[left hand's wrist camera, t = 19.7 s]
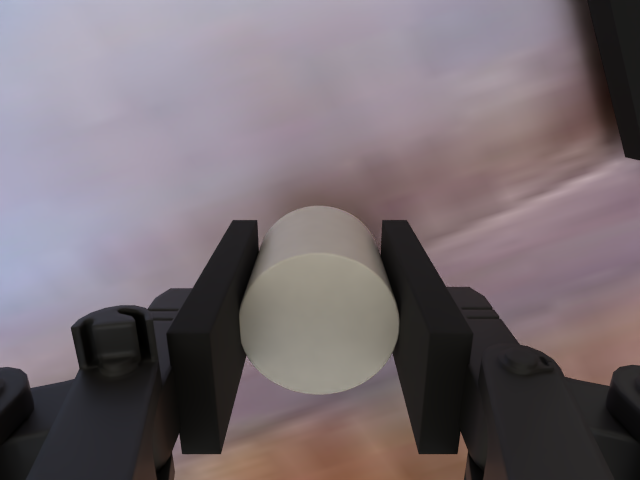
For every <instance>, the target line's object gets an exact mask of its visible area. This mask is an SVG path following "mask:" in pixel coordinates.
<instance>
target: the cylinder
mask: <svg viewBox="0 0 640 480" xmlns="http://www.w3.org/2000/svg"><path fill="white" fill-rule="evenodd" d="M239 321H240V336H241V344H242V346H243V349H244V351H245V353H246V355H247V357H248V358H249V360H250V361H251V363H252V364H253V365H254V367H255V368H256V369H257V370H258V371H259V372H260V373H261V374H263V375H264V376H265V377H266V378H268V379H269V380H271V381H272V382H274V383H276V384H277V385H280V386H282V387H284V388H286V389H289V390H292V391H295V392H300V393H305V394H314V395H317V394H333V393H338V392H342V391H346V390H349V389H351V388H354V387H356V386H358V385H360V384H362V383H364V382H365V381H367V380H369V379H370V378H371V377H373V376H374V375H375V374H376V373H377V372H378V371H379V370H380V369H381V368H382V367H383V366H384V365H385V363H386V362H387V361H388V359H389V358H390V356H391V354H392V352H393V350H394V348H395V346H396V343H397V340H398V335H399V325H400V319H399V311H398V307H397V303H396V300H395V297H394V294H393V291H392V288H391V285H390V282H389V280H388V277H387V274H386V271H385V268H384V265H383V262H382V259H381V256H380V253H379V250H378V247H377V244H376V242H375V239H374V237H373V236H372V234H371V232H370V231H369V229H368V228H367V227H366V226H365V225H364V224H363V223H362V222H361V221H360V220H359V219H358V218H356V217H355V216H353V215H352V214H350V213H348V212H346V211H344V210H341V209H338V208H334V207H330V206H308V207H304V208H300V209H297V210H294V211H292V212H290V213H288V214H286V215H285V216H283V217H282V218H280V219H279V220H278V221H277V222H276V223H275V224H274V225H273V226H272V227H271V228H270V230H269V231H268V232H267V234H266V236H265V237H264V239H263V242H262V244H261V247H260V250H259V253H258V256H257V259H256V262H255V265H254V267H253V270H252V273H251V276H250V279H249V282H248V285H247V288H246V291H245V294H244V296H243V299H242V302H241V305H240V310H239Z"/></svg>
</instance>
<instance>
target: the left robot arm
mask: <svg viewBox="0 0 640 480" xmlns="http://www.w3.org/2000/svg"><path fill="white" fill-rule="evenodd" d="M258 253H259V246H258V226H257V220H233V221H232V223H231V224H230V226H229V228H228V229H227V231H226V233H225V234H224V236H223V238H222V240H221V241H220V243H219V245H218V246H217V248H216V250H215V251H214V253H213V255H212V257H211V258H210V260H209V262H208V263H207V265H206V267H205V268H204V270H203V272H202V273H201V275H200V277H199V279H198V280H197V282H196V284H195V285H194V287H193V288H171V289H169V290H167V291H166V292H164V293H163V294H161V295H159V296H158V297H156V298H155V299H154V301H153V302H152V303H151V305H150V306H149V308H148V309H146V308H143V307H139V306H135V305H120V306H114V307H108V308H104V309H101V310H98V311H95V312H92V313H90V314H88V315H86V316H84V317H82V318H81V319H79V320H78V321H77V322H76V323H75V324H74V325H73V326H72V327H71V331H72V335H73V340H74V345H75V349H76V354H77V359H78V363H79V368H80V369H79V371H78V373H77V375H76V377H75V379H72V380H69V381H65V382H60V383H55V384H50V385H45V386H39V387H34V388H30V385H29V381H28V377H27V374H25V373H24V372H23V371H22V370H21V369H16V368H10V367H3V368H0V480H174V474H175V470H174V463H173V456H172V450H173V448H174V445H175V442H176V440H177V437H178V435H179V434H180V441H181V449H182V454H221V451H222V447H223V444H224V440H225V436H226V432H227V428H228V424H229V421H230V417H231V413H232V409H233V405H234V401H235V397H236V394H237V390H238V386H239V382H240V378H241V374H242V370H243V367H244V363H245V359H246V353H245V351H244V349H243V346H242V344H241V336H240V321H239V310H240V305H241V302H242V299H243V296H244V294H245V291H246V288H247V285H248V282H249V279H250V276H251V273H252V270H253V267H254V265H255V262H256V259H257V256H258ZM381 259H382V262H383V265H384V268H385V271H386V274H387V277H388V280H389V282H390V285H391V288H392V291H393V294H394V297H395V300H396V303H397V307H398V311H399V319H400V325H399V335H398V340H397V343H396V346H395V348H394V350H393V356H394V360H395V364H396V368H397V372H398V376H399V379H400V383H401V387H402V391H403V395H404V399H405V403H406V406H407V410H408V414H409V418H410V422H411V426H412V430H413V433H414V437H415V441H416V445H417V449H418V453H419V454H457V453H458V446H459V438H460V431H461V433H462V436H463V438H464V441H465V444H466V446H467V449H468V456H467V463H466V470H465V477H464V480H640V366H639V365H629V366H623V367H619V368H618V369H617V370H616V371H614V372H613V376H612V379H611V383H610V386H606V385H601V384H596V383H590V382H585V381H580V380H575V379H571V378H568V377H564V375H563V373H562V370H561V368H560V367H559V366H558V365H557V363H556V362H555V361H554V360H553V359H552V358H550V357H549V356H547V355H546V354H544V353H543V352H541V351H538V350H536V349H533V348H531V347H528V346H523V345H520V344H519V343H518V341H517V340H516V339H515V337H514V336H513V335H512V333H511V332H510V331H509V329H508V328H507V327H506V325H505V324H504V322H503V321H502V320H501V319H499V316H498V314H497V313H496V312H495V310H493V309H492V306H491V305H490V303H489V302H488V301H487V299H486V298H485V297H484V296H483V295H481V294H480V293H478V292H476V291H475V290H473V289H472V288H470V287H446V286H445V284H444V283H443V281H442V279H441V277H440V276H439V274H438V272H437V271H436V269H435V267H434V266H433V264H432V262H431V261H430V259H429V257H428V255H427V254H426V252H425V250H424V249H423V247H422V245H421V244H420V242H419V240H418V238H417V237H416V235H415V233H414V232H413V230H412V228H411V227H410V225H409V223H408V222H407V220H382V239H381Z"/></svg>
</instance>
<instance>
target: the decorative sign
mask: <svg viewBox="0 0 640 480" xmlns="http://www.w3.org/2000/svg"><path fill="white" fill-rule="evenodd" d="M587 1H588V5H589V9H590V13H591V17H592V21H593V25H594V30H595V34H596V38H597V42H598V46H599V50H600V54H601V58H602V63H603V67H604V71H605V75H606V79H607V83H608V87H609V92H610V96H611V100H612V104H613V108H614V112H615V116H616V121H617V125H618V129H619V133H620V137H621V141H622V145H623V150H624V154H625V157H627V158H632V159H636V160H640V0H587Z"/></svg>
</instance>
